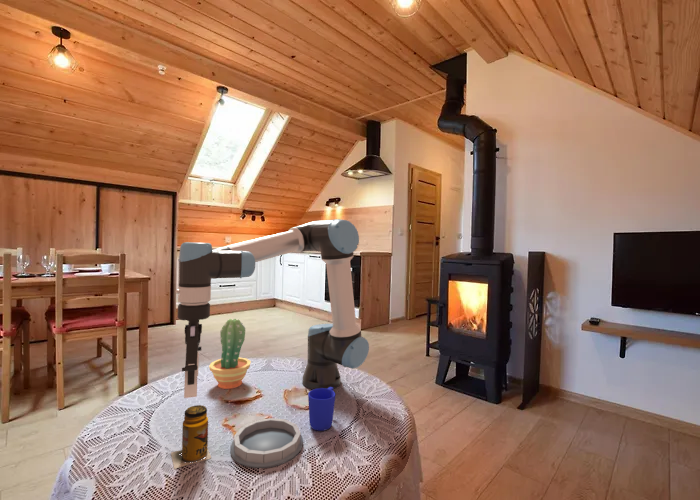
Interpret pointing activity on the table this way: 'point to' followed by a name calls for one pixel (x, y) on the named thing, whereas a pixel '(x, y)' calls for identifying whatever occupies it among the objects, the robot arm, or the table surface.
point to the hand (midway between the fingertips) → (191, 385)
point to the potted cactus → (230, 356)
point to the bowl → (266, 443)
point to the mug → (321, 408)
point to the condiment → (193, 438)
